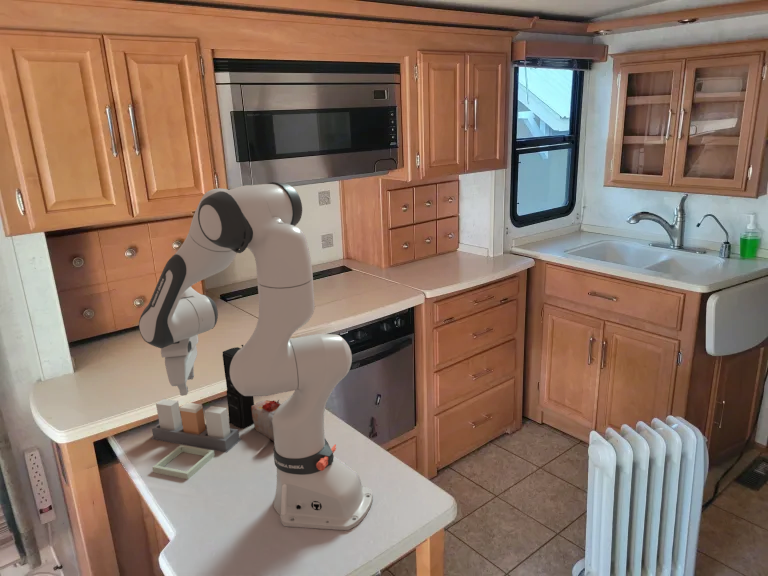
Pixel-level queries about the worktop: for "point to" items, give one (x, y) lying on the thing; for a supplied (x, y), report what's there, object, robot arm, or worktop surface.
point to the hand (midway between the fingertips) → (187, 386)
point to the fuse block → (212, 438)
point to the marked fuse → (192, 418)
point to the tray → (179, 473)
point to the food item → (264, 417)
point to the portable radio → (236, 396)
